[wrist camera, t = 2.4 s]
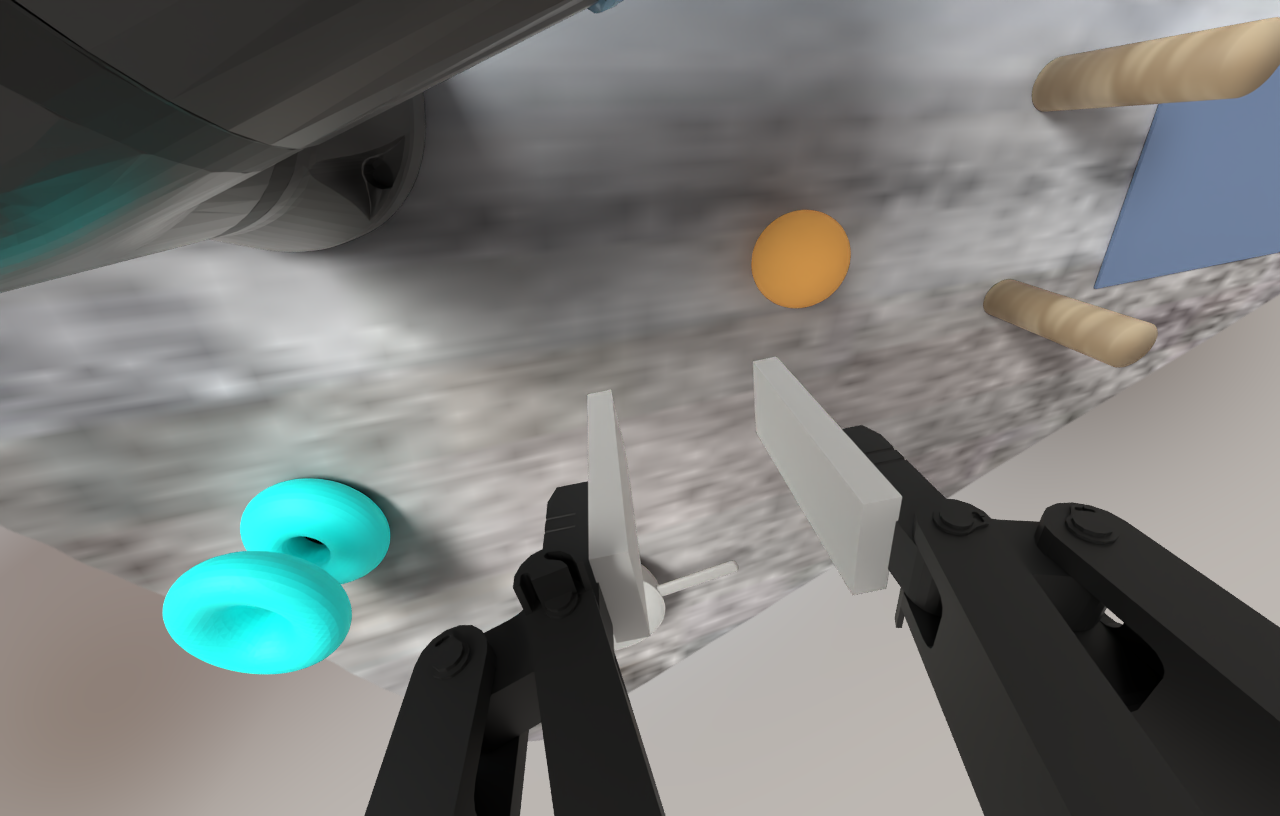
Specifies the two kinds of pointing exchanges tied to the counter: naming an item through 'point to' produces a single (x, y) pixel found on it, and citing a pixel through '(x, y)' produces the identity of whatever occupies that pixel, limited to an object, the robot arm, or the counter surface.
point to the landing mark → (1201, 189)
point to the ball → (800, 258)
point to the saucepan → (657, 592)
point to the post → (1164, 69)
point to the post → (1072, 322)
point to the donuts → (280, 580)
